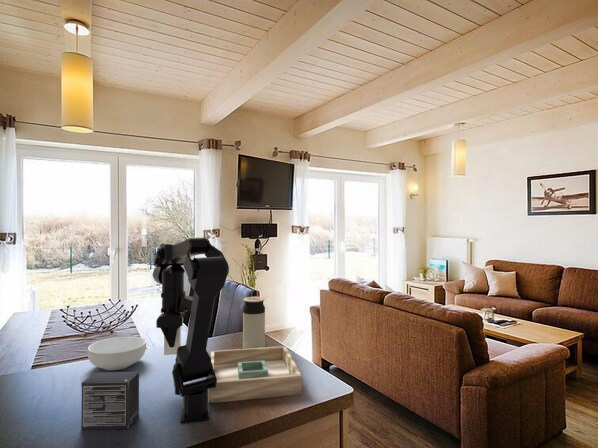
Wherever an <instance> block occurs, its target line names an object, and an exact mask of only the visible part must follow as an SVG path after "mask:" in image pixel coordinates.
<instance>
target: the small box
mask: <svg viewBox="0 0 598 448" xmlns="http://www.w3.org/2000/svg"><path fill="white" fill-rule="evenodd" d="M80 385H81V386H80V387H81V422H80V423H81V426H80V430H81V431H82V430H84V431H85V430H86V431H87V430H88V431H93V430H128V429H129V428H130V427H131V426H132V424H133V423H134V422H135V421H136V419H138V417H139V415H140V371H109V372H100V371H99V372H95V373H93V374H91V375H90V376H89V377H87V378H85V379H84V380H83V381H82V382H81V384H80Z"/></svg>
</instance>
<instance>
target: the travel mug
mask: <svg viewBox="0 0 598 448" xmlns="http://www.w3.org/2000/svg"><path fill="white" fill-rule="evenodd" d="M243 301H244V305H243V309H242V349H247V348H261V347H266V344H265V343H266V307H265V304H264V301H265V298H264V297H262V296H248V297H247V296H246V297H245V298H243Z"/></svg>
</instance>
